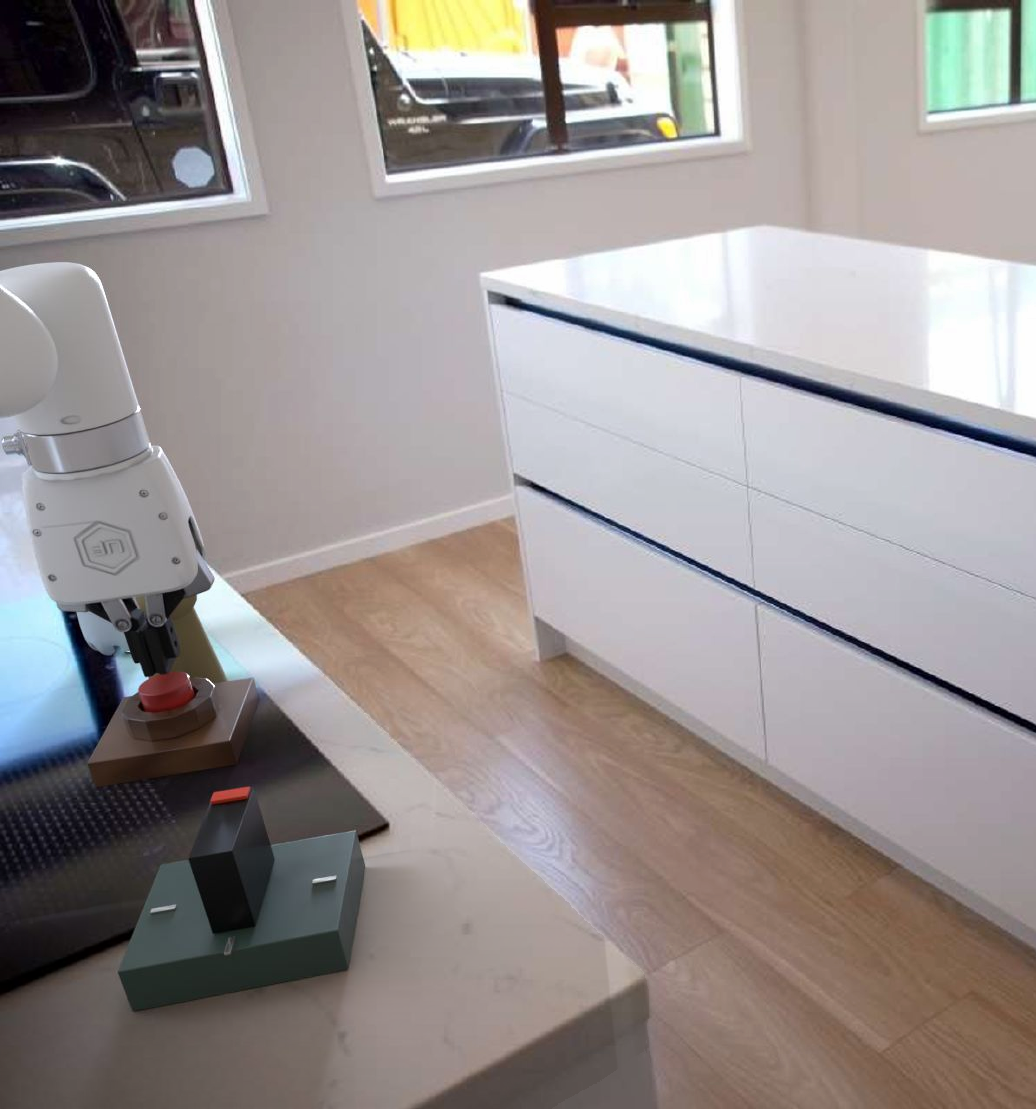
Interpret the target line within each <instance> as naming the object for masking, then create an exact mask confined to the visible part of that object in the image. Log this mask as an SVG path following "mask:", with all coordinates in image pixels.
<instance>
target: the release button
mask: <svg viewBox="0 0 1036 1109" xmlns="http://www.w3.org/2000/svg"><path fill="white" fill-rule="evenodd" d="M137 692H139V695H140V698H141V701H142V704H143V707H144V710H145V711H146V712H150V713H157V712H163V711H170V710H173V709H175V708H178V707H181V706H183V705H185V704H187V703H188V702H190V701H191V700H193V699H194V697H195V695H194V691H193V688H192V685H191V681H190V678H189V676H188V675H187V674H186V673H183V672H169V673H168V674H164V675H156V676H154V677H152V678H150V679H149V678H148V679H146V680H144V681H143V682H142V683H140V685H139V686H138V689H137Z"/></svg>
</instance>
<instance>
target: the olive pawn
mask: <svg viewBox="0 0 1036 1109" xmlns="http://www.w3.org/2000/svg"><path fill="white" fill-rule="evenodd" d="M135 598H136V600H137V602H138V604H139V605H140V608H141V610H142V611H143V612H144V613H147V611H146V604H145V596H139V597H135ZM197 601H198V594H197V595H195V596H192V597H188V598H185V599H182V601H181V602H180V603H179V605H178V606H177V607H176V608H175V610H174V611H173V612H172V614H171V618H172V622H173V625H174V628H175V631H176V634H177V638H178V641H179V644H180V655H179V657H176V659H175V661H174V663H173V665H172V667H171V669H170V671H169V672H183V673H186V674H187V675H188V676H189V677H197V678H205V679H208V680H209V681H210V682H211V683H212V684H214V683H220V682H227V681H229V679H228V677H227V675H226V672H225V671H224V668H223V666H222V664H221V662H220V659H219V657H218V656H217V655H218V654H216V652H215V649H214V647H213V645H212V643H211V641H210V639H209V636H208V635H207V632H206V630H205V628H204V626H203V624H202V621H201V619H200V617H199V615H198V613H197V611H196V609H195V605H196V603H197ZM156 675H160V674H157V673H156V674H154V676H156ZM154 676H151V677H147V678H148V679H150V678H152V677H154Z"/></svg>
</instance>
